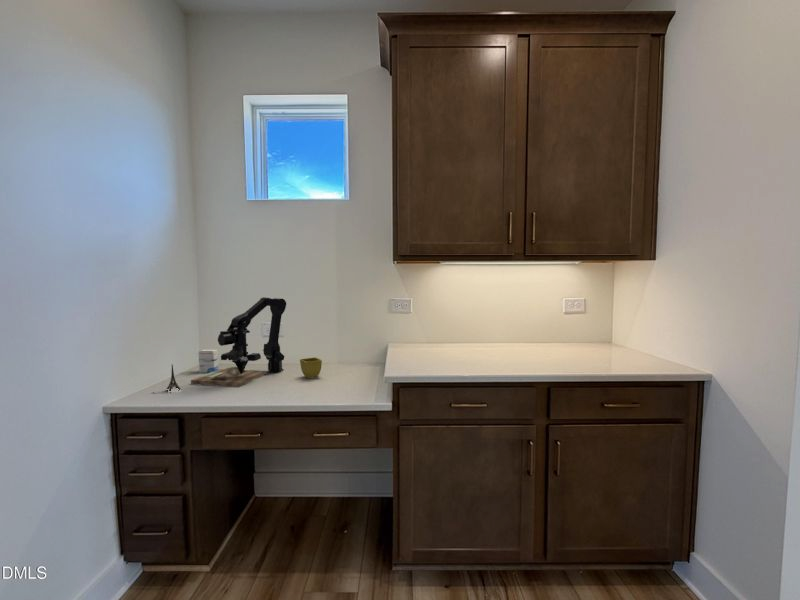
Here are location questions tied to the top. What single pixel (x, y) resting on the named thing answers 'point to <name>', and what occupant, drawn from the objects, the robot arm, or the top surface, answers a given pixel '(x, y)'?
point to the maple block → (232, 372)
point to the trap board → (227, 378)
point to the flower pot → (311, 367)
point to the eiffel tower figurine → (172, 382)
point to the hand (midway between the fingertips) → (241, 373)
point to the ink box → (208, 360)
